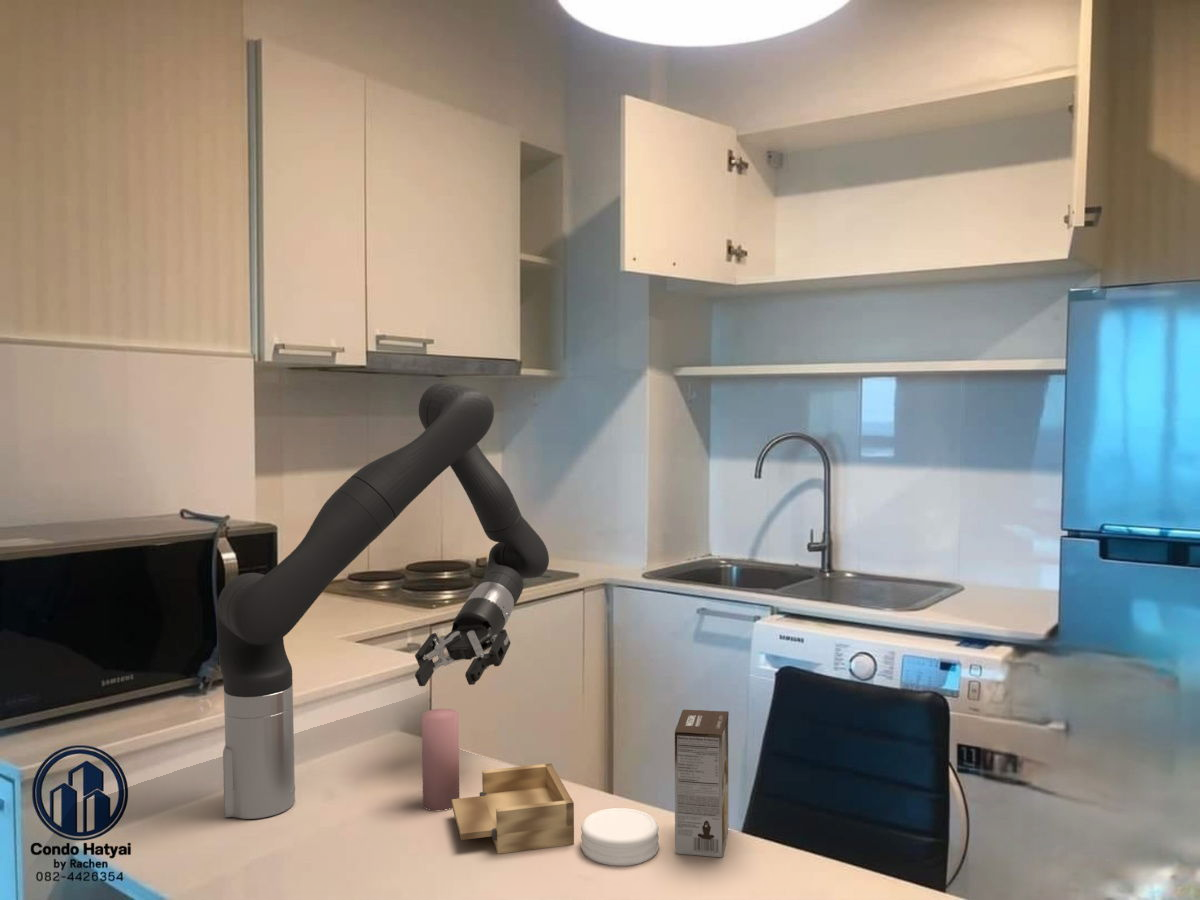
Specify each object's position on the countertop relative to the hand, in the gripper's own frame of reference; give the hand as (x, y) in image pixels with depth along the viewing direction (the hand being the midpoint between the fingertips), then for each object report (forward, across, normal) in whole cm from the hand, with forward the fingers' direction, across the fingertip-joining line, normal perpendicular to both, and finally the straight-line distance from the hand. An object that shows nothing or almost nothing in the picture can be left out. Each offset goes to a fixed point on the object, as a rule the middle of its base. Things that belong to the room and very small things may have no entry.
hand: (444, 681), depth 140 cm
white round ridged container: (+17, +28, +15) cm, 36 cm away
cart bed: (+15, +13, +13) cm, 24 cm away
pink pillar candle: (+12, 0, +13) cm, 17 cm away
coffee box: (+12, +38, +18) cm, 44 cm away
